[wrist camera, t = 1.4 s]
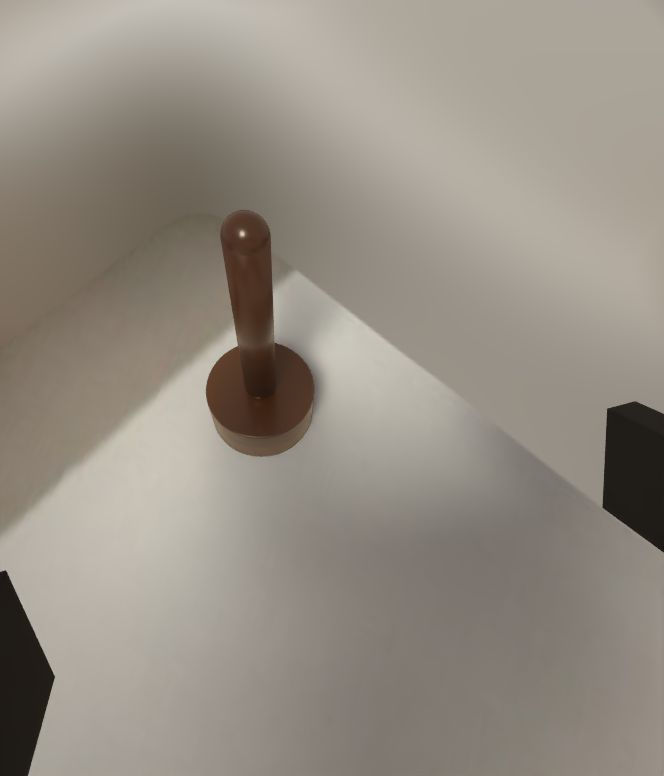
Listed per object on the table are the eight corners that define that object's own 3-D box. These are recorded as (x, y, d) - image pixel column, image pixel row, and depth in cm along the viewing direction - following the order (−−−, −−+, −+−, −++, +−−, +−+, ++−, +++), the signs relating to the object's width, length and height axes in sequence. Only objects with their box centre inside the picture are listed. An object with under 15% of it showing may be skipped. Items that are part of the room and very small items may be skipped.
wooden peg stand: (193, 426, 30) (111, 240, 16) (247, 350, 32) (218, 130, 18) (279, 475, 29) (274, 324, 15) (329, 394, 31) (364, 198, 17)
